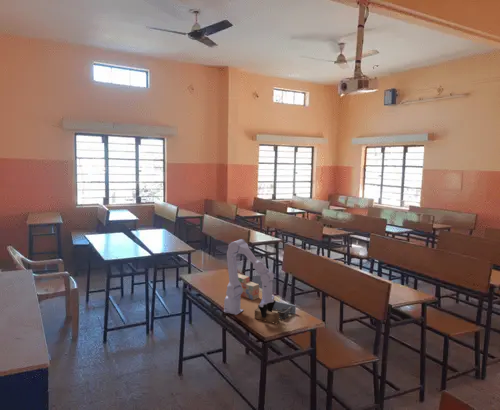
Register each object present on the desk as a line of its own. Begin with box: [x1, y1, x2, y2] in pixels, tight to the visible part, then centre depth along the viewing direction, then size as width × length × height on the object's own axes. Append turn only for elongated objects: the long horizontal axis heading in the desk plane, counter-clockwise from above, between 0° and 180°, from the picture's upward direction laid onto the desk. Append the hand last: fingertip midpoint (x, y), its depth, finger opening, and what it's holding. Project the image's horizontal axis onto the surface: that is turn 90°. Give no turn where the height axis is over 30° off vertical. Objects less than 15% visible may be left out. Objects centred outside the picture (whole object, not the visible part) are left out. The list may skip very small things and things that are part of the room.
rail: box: [254, 307, 280, 324], centre depth 221 cm, size 14×4×5 cm, turn 59°
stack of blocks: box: [238, 273, 260, 300], centre depth 260 cm, size 21×6×12 cm, turn 45°
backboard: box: [273, 300, 297, 315], centre depth 234 cm, size 21×5×5 cm, turn 60°
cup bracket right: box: [277, 308, 290, 320], centre depth 225 cm, size 4×7×4 cm, turn 150°
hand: (266, 315), depth 221 cm, fingers open, 7 cm apart
